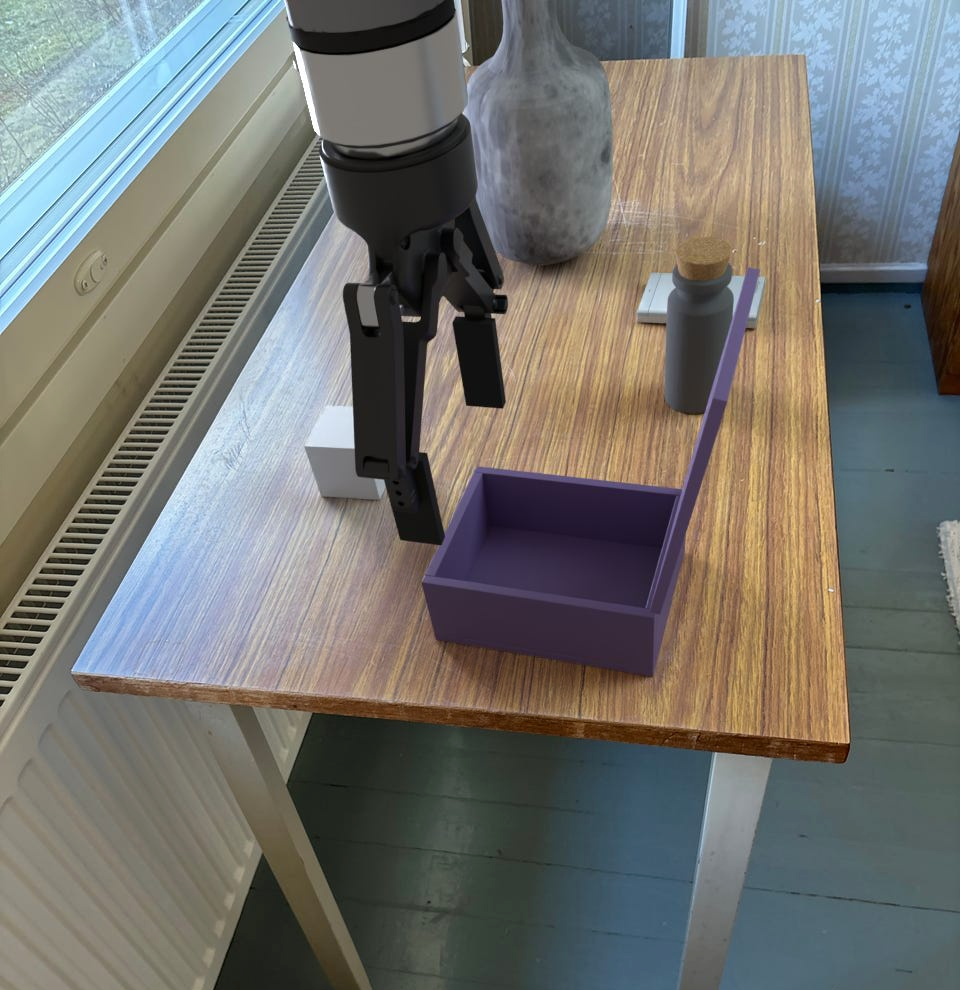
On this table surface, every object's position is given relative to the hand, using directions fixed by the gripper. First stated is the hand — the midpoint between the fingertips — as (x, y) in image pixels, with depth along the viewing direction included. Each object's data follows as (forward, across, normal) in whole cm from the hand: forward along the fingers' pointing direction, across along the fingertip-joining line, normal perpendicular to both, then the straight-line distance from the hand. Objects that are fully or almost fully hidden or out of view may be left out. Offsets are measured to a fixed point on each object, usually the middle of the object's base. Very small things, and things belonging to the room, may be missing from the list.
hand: (456, 467), depth 61 cm
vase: (+18, -60, -10) cm, 63 cm away
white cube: (+18, -17, -18) cm, 31 cm away
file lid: (+1, -6, +15) cm, 16 cm away
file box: (+18, -6, +5) cm, 19 cm away
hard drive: (+18, -50, +9) cm, 54 cm away
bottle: (+18, -34, +11) cm, 40 cm away
